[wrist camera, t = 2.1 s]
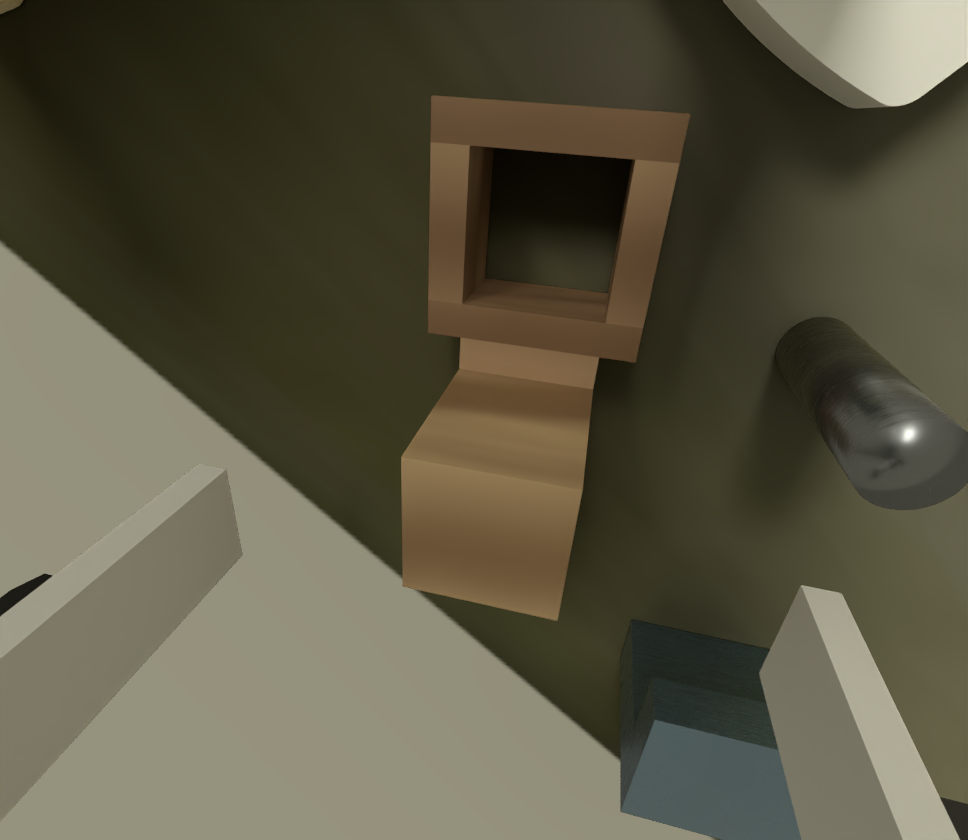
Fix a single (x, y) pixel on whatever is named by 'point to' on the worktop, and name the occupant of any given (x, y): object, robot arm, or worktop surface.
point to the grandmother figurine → (9, 5)
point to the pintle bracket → (735, 667)
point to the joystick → (863, 44)
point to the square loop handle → (521, 354)
